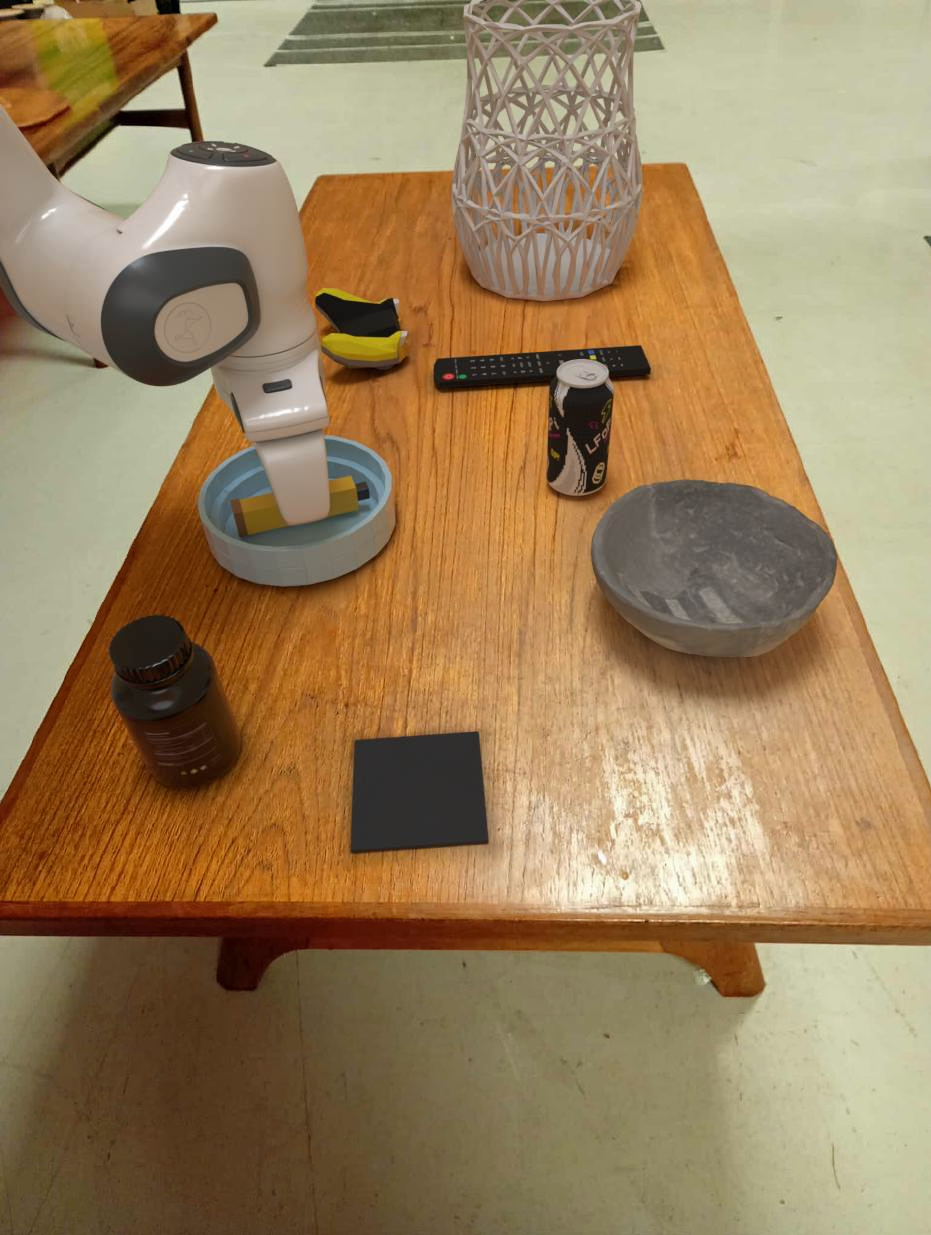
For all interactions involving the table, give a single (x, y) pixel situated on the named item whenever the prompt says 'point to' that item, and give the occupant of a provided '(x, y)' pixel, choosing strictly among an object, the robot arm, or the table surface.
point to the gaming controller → (362, 330)
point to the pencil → (266, 514)
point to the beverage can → (579, 427)
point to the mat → (417, 792)
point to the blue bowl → (305, 546)
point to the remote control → (534, 366)
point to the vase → (547, 159)
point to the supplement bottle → (172, 703)
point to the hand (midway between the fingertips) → (295, 503)
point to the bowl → (712, 566)
